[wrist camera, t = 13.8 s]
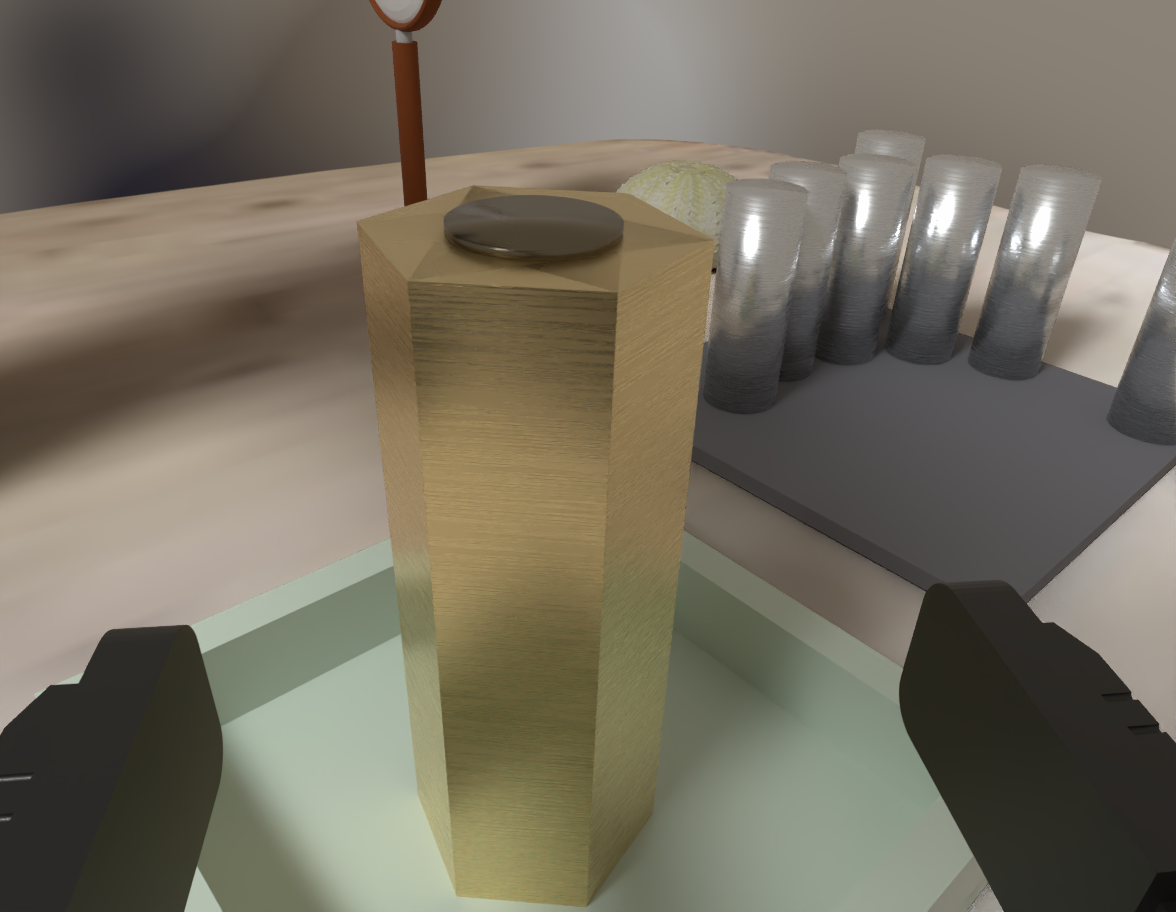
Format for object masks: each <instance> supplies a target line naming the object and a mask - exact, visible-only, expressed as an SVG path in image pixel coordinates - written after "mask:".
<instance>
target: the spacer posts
mask: <svg viewBox="0 0 1176 912" xmlns="http://www.w3.org/2000/svg"><path fill="white" fill-rule="evenodd" d="M924 145H925V138H923V137H921V136H919V135H915V134H911V133H906V132H899V131H891V130H867V131H862V132H860V133H859V134H858V139H857V144H856V149H855V154H849V155H845V156H842V157H841V158H840V163H839V167H836V166H832V165H828V164H823V163H816V162H804V161H789V162H780V163H776V164H773V165H771V167H770V173H769V179H741V180H735V181H732V182H729V183H728V184H727V185H726V189H725V198H724V207H723V216H722V225H721V234H720V243H719V252H718V261H717V270H716V279H715V288H714V297H713V306H712V315H711V324H710V333H709V342H708V350H707V359H706V368H705V377H704V386H703V398H704V400H705V401H706V402H707V403H708V404H710V405H711V406H713V407H715V408H717V409H719V410H722V411H725V412H729V413H734V414H758V413H762V412H765V411H768V410H769V409H771V408H772V407H773V406H774V404H775V400H776V394H777V388H778V382H794V381H800V380H803V379H805V378H807V377H809V376H810V375H811V373H812V368H813V362H814V357H815V358H817V359H819V360H822V361H824V362H827V363H831V364H836V365H844V366H856V365H862V364H866V363H868V362H870V361H871V360H872V359H873V356H874V351H875V347H876V342H877V338H878V333H879V329H880V324H881V320H882V319H884V318H885V317H886V316H887V311H888V307H889V302H890V298H891V293H892V289H893V284H894V280H895V275H896V271H897V266H898V262H899V257H900V253H901V248H902V244H903V239H904V235H905V230H906V226H907V221H908V217H909V212H910V208H911V203H912V199H913V194H914V190H915V185H916V181H917V176H918V172H919V167H920V163H921V158H922V154H923V149H924ZM1002 168H1003V167H1002V166H1001V165H1000V164H998V163H996V162H993V161H990V160H986V159H982V158H977V157H970V156H961V155H935V156H931V157H928V158H927V159H926V163H925V168H924V173H923V177H922V181H921V186H920V190H919V194H918V199H917V203H916V208H915V212H914V217H913V221H912V225H911V230H910V234H909V239H908V243H907V248H906V252H905V257H904V261H903V265H902V270H901V274H900V279H899V283H898V288H897V292H896V296H895V301H894V305H893V310H892V314H891V319H890V323H889V328H888V332H887V336H886V341H885V345H884V348H885V350H886V352H887V353H888V354H890V355H891V356H893V357H895V358H897V359H899V360H902V361H905V362H908V363H912V364H918V365H940V364H944V363H947V362H948V361H950V359H951V357H952V353H953V349H954V346H955V342H956V338H957V334H958V331H959V327H960V323H961V320H962V316H963V312H964V309H965V305H966V301H967V298H968V294H969V290H970V286H971V283H972V279H973V275H974V272H975V268H976V264H977V261H978V257H979V253H980V249H981V246H982V242H983V238H984V235H985V231H986V227H987V224H988V220H989V216H990V213H991V209H992V205H993V201H994V198H995V194H996V190H997V187H998V182H999V179H1000V175H1001V172H1002ZM1101 181H1102V178H1101V177H1100V176H1099V175H1097V174H1094V173H1092V172H1088V171H1085V170H1081V169H1076V168H1071V167H1064V166H1054V165H1029V166H1024V167H1022V168H1021V171H1020V175H1019V178H1018V182H1017V185H1016V189H1015V192H1014V196H1013V200H1012V203H1011V207H1010V210H1009V214H1008V217H1007V221H1006V224H1005V228H1004V232H1003V235H1002V239H1001V242H1000V246H999V249H998V253H997V256H996V260H995V263H994V267H993V271H992V274H991V278H990V281H989V285H988V288H987V292H986V295H985V299H984V303H983V306H982V310H981V313H980V317H979V320H978V324H977V327H976V331H975V335H974V338H973V342H972V345H971V349H970V352H969V356H968V363H969V365H970V366H971V367H973V368H974V369H975V370H977V371H979V372H981V373H983V374H986V375H988V376H991V377H995V378H999V379H1004V380H1013V381H1022V380H1029V379H1032V378H1034V377H1036V376H1037V375H1038V372H1039V369H1040V366H1041V363H1042V360H1043V357H1044V354H1045V351H1046V348H1047V344H1048V341H1049V338H1050V335H1051V332H1052V329H1053V326H1054V323H1055V320H1056V317H1057V314H1058V311H1059V308H1060V305H1061V302H1062V299H1063V296H1064V293H1065V290H1066V287H1067V284H1068V281H1069V278H1070V275H1071V272H1072V269H1073V266H1074V263H1075V260H1076V257H1077V254H1078V251H1079V248H1080V245H1081V242H1082V239H1083V236H1084V233H1085V230H1086V226H1087V223H1088V220H1089V217H1090V214H1091V211H1092V208H1093V205H1094V202H1095V199H1096V196H1097V193H1098V190H1099V187H1100V184H1101ZM1106 419H1107V421H1108V423H1109V424H1110V425H1111V426H1112V427H1113V428H1114V429H1116V430H1117V431H1119V432H1120V433H1122V434H1124V435H1126V436H1128V437H1131V438H1133V439H1136V440H1139V441H1143V442H1146V443H1151V444H1156V445H1165V446H1175V445H1176V237H1175V240H1174V243H1173V245H1172V248H1171V250H1170V253H1169V255H1168V258H1167V261H1166V263H1165V266H1164V268H1163V271H1162V274H1161V276H1160V279H1159V281H1158V284H1157V287H1156V289H1155V292H1154V294H1153V297H1152V299H1151V302H1150V305H1149V307H1148V310H1147V312H1146V315H1145V318H1144V320H1143V323H1142V325H1141V328H1140V331H1139V333H1138V336H1137V338H1136V341H1135V343H1134V346H1133V349H1132V351H1131V354H1130V356H1129V359H1128V362H1127V364H1126V367H1125V369H1124V372H1123V375H1122V377H1121V380H1120V382H1119V385H1118V387H1117V390H1116V393H1115V395H1114V398H1113V400H1112V403H1111V406H1110V408H1109V411H1108V413H1107V416H1106Z"/></svg>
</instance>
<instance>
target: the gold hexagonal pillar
mask: <svg viewBox="0 0 1176 912" xmlns="http://www.w3.org/2000/svg"><path fill="white" fill-rule="evenodd" d="M357 230H358V239H359V248H360V258H361V267H362V276H363V286H364V295H365V304H366V314H367V323H368V332H369V342H370V351H371V360H372V370H373V379H374V388H375V397H376V407H377V416H378V425H379V435H380V444H381V453H382V463H383V472H384V481H385V491H386V500H387V509H388V519H389V528H390V537H391V547H392V556H393V565H394V575H395V584H396V593H397V602H398V612H399V621H400V630H401V640H402V649H403V658H404V668H405V677H406V686H407V696H408V705H409V714H410V724H411V733H412V742H413V752H414V761H415V770H416V780H417V789H418V796H419V799H420V802H421V804H422V807H423V810H424V812H425V815H426V818H427V820H428V823H429V825H430V828H431V831H432V833H433V836H434V839H435V841H436V844H437V847H438V849H439V852H440V854H441V857H442V860H443V862H444V865H445V868H446V870H447V873H448V875H449V878H450V881H451V883H452V886H453V889H454V891H455V894H456V896H457V897H468V898H480V899H492V900H504V901H516V902H528V903H540V904H552V905H564V906H575V907H587V906H588V904H589V903H590V902H591V900H592V899H593V897H594V896H595V895H596V893H597V892H598V890H599V889H600V888H601V886H602V885H603V883H604V882H605V881H606V879H607V878H608V876H609V875H610V874H611V872H612V871H613V869H614V868H615V867H616V865H617V864H618V862H619V861H620V859H621V858H622V857H623V855H624V854H625V852H626V851H627V850H628V848H629V847H630V845H631V844H632V843H633V841H634V840H635V838H636V837H637V836H638V834H639V833H640V831H641V830H642V829H643V827H644V826H645V824H646V823H647V822H648V820H649V819H650V817H651V816H652V815H653V806H654V797H655V788H656V779H657V769H658V760H659V751H660V742H661V732H662V723H663V714H664V705H665V695H666V686H667V677H668V668H669V658H670V649H671V640H672V631H673V622H674V612H675V603H676V594H677V585H678V575H679V566H680V557H681V548H682V538H683V529H684V520H685V511H686V501H687V492H688V483H689V474H690V465H691V455H692V446H693V437H694V428H695V418H696V409H697V400H698V391H699V381H700V372H701V363H702V354H703V344H704V335H705V326H706V317H707V308H708V298H709V289H710V280H711V271H712V261H713V252H714V243H715V240H714V239H712V238H710V237H708V236H707V235H705V234H703V233H701V232H699V231H697V230H695V229H694V228H692V227H690V226H688V225H686V224H684V223H683V222H681V221H679V220H677V219H675V218H673V217H672V216H670V215H668V214H666V213H664V212H662V211H661V210H659V209H657V208H655V207H653V206H651V205H649V204H648V203H646V202H644V201H642V200H640V199H638V198H637V197H635V196H633V195H631V194H629V193H614V192H594V191H574V190H553V189H533V188H513V187H493V186H470V187H466V188H463V189H460V190H457V191H453V192H450V193H447V194H444V195H441V196H437V197H434V198H431V199H428V200H424V201H421V202H418V203H415V204H412V205H408V206H405V207H402V208H399V209H395V210H392V211H389V212H386V213H382V214H379V215H376V216H373V217H370V218H366V219H363V220H360V221H357Z"/></svg>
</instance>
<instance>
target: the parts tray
mask: <svg viewBox="0 0 1176 912" xmlns="http://www.w3.org/2000/svg"><path fill="white" fill-rule="evenodd" d="M190 627H192V629H193V630H194V632H195V634H196V636H197V639H198V643H199V646H200V650H201V654H202V657H203V661H204V665H205V669H206V672H207V676H208V680H209V684H210V687H211V691H212V695H213V698H214V702H215V706H216V710H217V713H218V717H219V721H220V725H221V730H222V738H223V764H222V773H221V780H220V785H219V789H218V793H217V796H216V800H215V803H214V807H213V811H212V814H211V818H210V821H209V825H208V828H207V832H206V836H205V839H204V843H203V846H202V850H201V853H200V857H199V861H198V864H197V868H196V871H195V875H194V878H193V882H192V886H191V889H190V893H189V896H188V900H187V903H186V907H185V911H184V912H966V911H967V909H968V908H969V907H970V906H971V904H972V903H973V902H974V900H975V899H976V898H977V897H978V895H979V894H980V893H981V892H982V890H983V889H984V888H985V887H986V885H987V884H988V881H987V879H986V878H985V876H984V874H983V872H982V870H981V868H980V866H979V865H978V863H977V861H976V859H975V857H974V855H973V854H972V852H971V850H970V848H969V846H968V844H967V843H966V841H965V839H964V837H963V835H962V833H961V832H960V830H959V828H958V826H957V824H956V822H955V821H954V819H953V817H952V815H951V813H950V811H949V809H948V808H947V806H946V804H945V802H944V800H943V798H942V797H941V795H940V793H939V791H938V789H937V787H936V786H935V784H934V782H933V780H932V778H931V776H930V775H929V773H928V771H927V769H926V767H925V765H924V764H923V762H922V760H921V758H920V756H919V754H918V752H917V751H916V749H915V747H914V745H913V743H912V741H911V740H910V738H909V736H908V734H907V731H906V729H905V726H904V723H903V720H902V715H901V711H900V704H899V684H900V679H901V675H902V671H903V668H902V667H901V666H899V665H898V664H896V663H894V662H893V661H891V660H890V659H888V658H886V657H885V656H883V655H882V654H880V653H879V652H877V651H875V650H874V649H872V648H871V647H869V646H867V645H866V644H864V643H863V642H861V641H859V640H858V639H856V638H855V637H853V636H852V635H850V634H848V633H847V632H845V631H844V630H842V629H840V628H839V627H837V626H836V625H834V624H832V623H831V622H829V621H828V620H826V619H824V618H823V617H821V616H820V615H818V614H817V613H815V612H813V611H812V610H810V609H809V608H807V607H805V606H804V605H802V604H801V603H799V602H797V601H796V600H794V599H793V598H791V597H790V596H788V595H786V594H785V593H783V592H782V591H780V590H778V589H777V588H775V587H774V586H772V585H770V584H769V583H767V582H766V581H764V580H763V579H761V578H759V577H758V576H756V575H755V574H753V573H751V572H750V571H748V570H747V569H745V568H743V567H742V566H740V565H739V564H737V563H736V562H734V561H732V560H731V559H729V558H728V557H726V556H724V555H723V554H721V553H720V552H718V551H716V550H715V549H713V548H712V547H710V546H708V545H707V544H705V543H704V542H702V541H701V540H699V539H697V538H696V537H694V536H693V535H691V534H689V533H688V532H686V531H685V530H683V538H682V548H681V557H680V566H679V575H678V585H677V594H676V603H675V612H674V622H673V631H672V640H671V649H670V658H669V668H668V677H667V686H666V695H665V705H664V714H663V723H662V732H661V742H660V751H659V760H658V769H657V779H656V788H655V797H654V806H653V815H652V816H651V817H650V819H649V820H648V822H647V823H646V824H645V826H644V827H643V829H642V830H641V831H640V833H639V834H638V836H637V837H636V838H635V840H634V841H633V843H632V844H631V845H630V847H629V848H628V850H627V851H626V852H625V854H624V855H623V857H622V858H621V859H620V861H619V862H618V864H617V865H616V867H615V868H614V869H613V871H612V872H611V874H610V875H609V876H608V878H607V879H606V881H605V882H604V883H603V885H602V886H601V888H600V889H599V890H598V892H597V893H596V895H595V896H594V897H593V899H592V900H591V902H590V903H589V904H588V906H587V907H575V906H564V905H552V904H540V903H528V902H516V901H504V900H492V899H480V898H468V897H457V896H456V894H455V891H454V889H453V886H452V883H451V881H450V878H449V875H448V873H447V870H446V868H445V865H444V862H443V860H442V857H441V854H440V852H439V849H438V847H437V844H436V841H435V839H434V836H433V833H432V831H431V828H430V825H429V823H428V820H427V818H426V815H425V812H424V810H423V807H422V804H421V802H420V799H419V796H418V789H417V780H416V770H415V761H414V752H413V742H412V733H411V724H410V714H409V705H408V696H407V686H406V677H405V668H404V658H403V649H402V640H401V630H400V621H399V612H398V602H397V593H396V584H395V575H394V565H393V556H392V547H391V538H389V539H387V540H384V541H382V542H380V543H378V544H375V545H373V546H371V547H368V548H366V549H364V550H362V551H359V552H357V553H355V554H352V555H350V556H348V557H346V558H343V559H341V560H339V561H336V562H334V563H332V564H330V565H327V566H325V567H323V568H320V569H318V570H316V571H314V572H311V573H309V574H307V575H304V576H302V577H300V578H298V579H295V580H293V581H291V582H288V583H286V584H284V585H282V586H279V587H277V588H275V589H272V590H270V591H268V592H266V593H263V594H261V595H259V596H256V597H254V598H252V599H250V600H247V601H245V602H243V603H240V604H238V605H236V606H234V607H231V608H229V609H227V610H224V611H222V612H220V613H218V614H215V615H213V616H211V617H208V618H206V619H204V620H202V621H199V622H197V623H195V624H192V625H190ZM83 673H84V672H83ZM83 673H80V674H78V675H76V676H74V677H71V678H69V679H67V680H64V681H62V682H60V683H58V684H55V685H61V684H76V683H79V681H80V679H81V677H82V675H83ZM46 689H47V688H46ZM46 689H44V690H42V691H39V692H37V693H35V694H34V696H35V698H37V697H38V696H39V695H40V694H41V693H42V692H43V691H45V690H46Z"/></svg>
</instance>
